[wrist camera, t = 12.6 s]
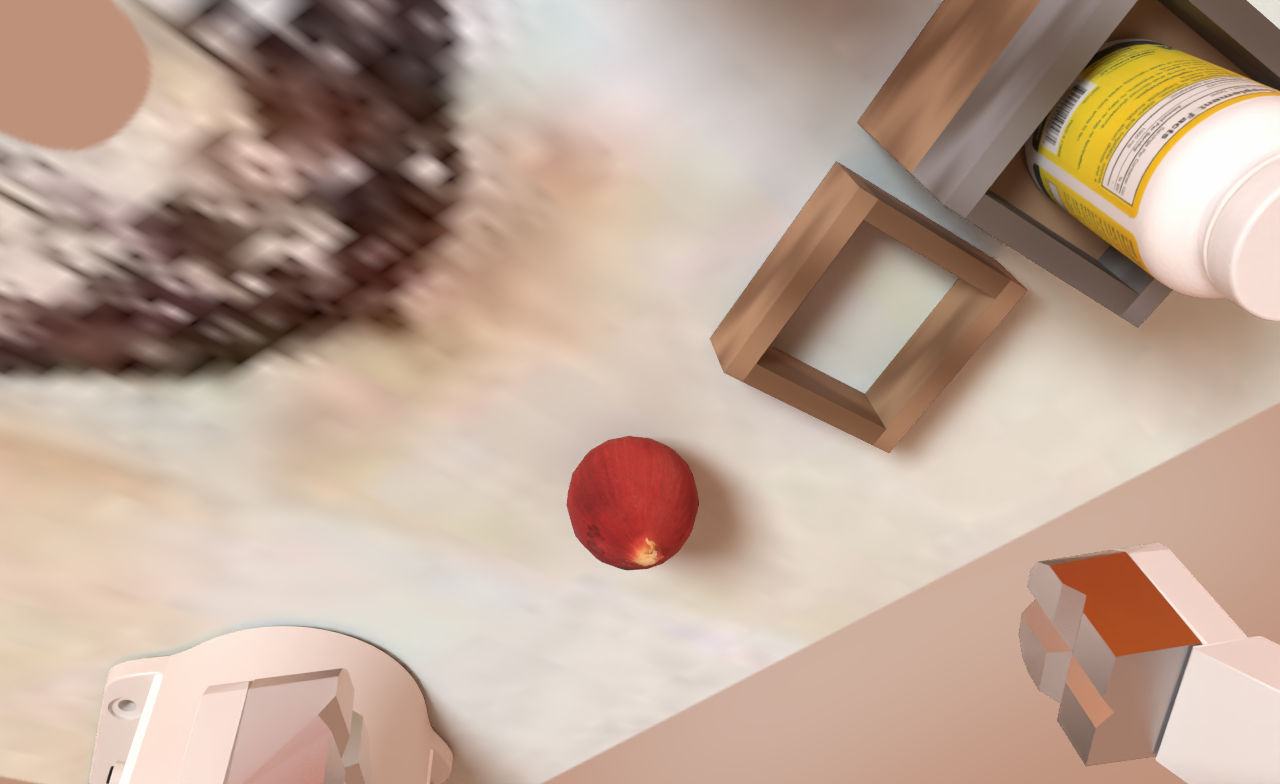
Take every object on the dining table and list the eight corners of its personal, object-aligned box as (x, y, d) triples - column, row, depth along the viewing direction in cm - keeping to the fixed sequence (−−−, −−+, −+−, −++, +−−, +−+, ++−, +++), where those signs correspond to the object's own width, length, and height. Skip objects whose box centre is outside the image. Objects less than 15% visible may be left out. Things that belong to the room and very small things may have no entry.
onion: (640, 517, 51) (666, 633, 44) (539, 476, 49) (551, 592, 42) (704, 430, 49) (741, 539, 42) (601, 384, 46) (623, 491, 40)
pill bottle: (1180, 177, 38) (1408, 314, 29) (1020, 222, 38) (1197, 373, 29) (1190, 10, 35) (1452, 105, 25) (1016, 60, 35) (1214, 173, 26)
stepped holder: (871, 419, 50) (943, 539, 42) (705, 336, 46) (751, 451, 38) (1192, 31, 41) (1352, 93, 34) (1021, -111, 38) (1160, -75, 30)
